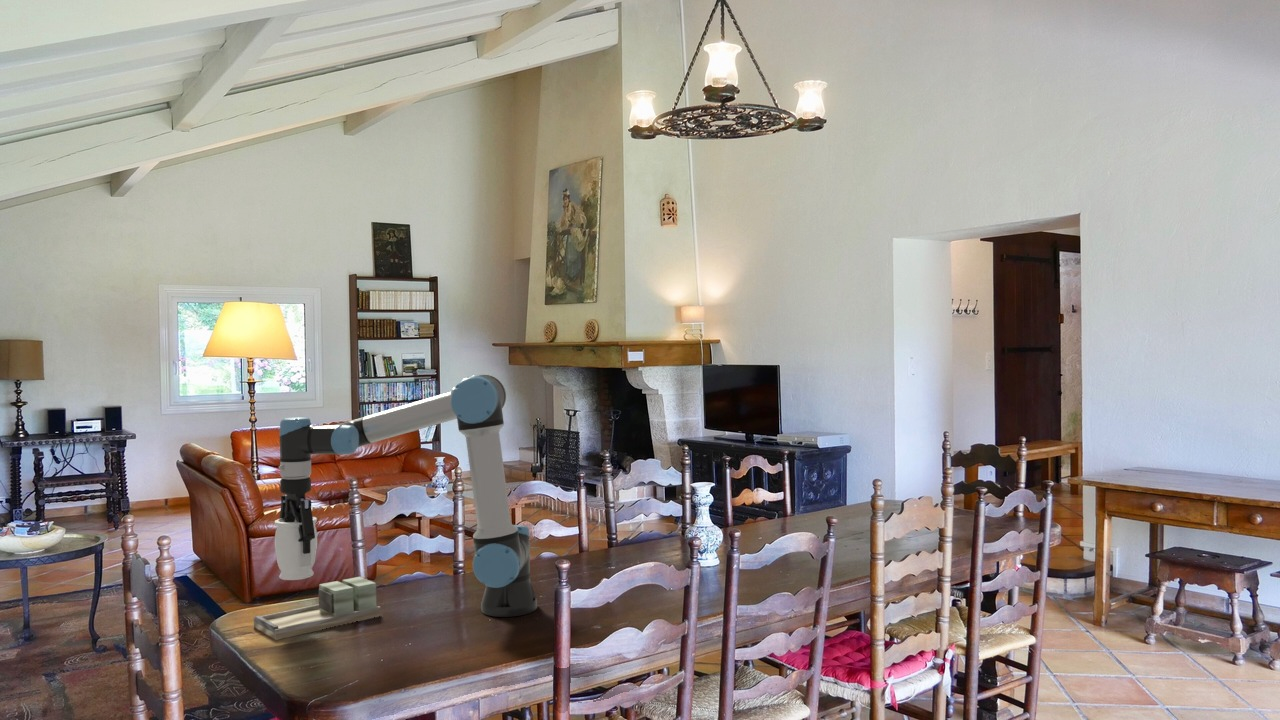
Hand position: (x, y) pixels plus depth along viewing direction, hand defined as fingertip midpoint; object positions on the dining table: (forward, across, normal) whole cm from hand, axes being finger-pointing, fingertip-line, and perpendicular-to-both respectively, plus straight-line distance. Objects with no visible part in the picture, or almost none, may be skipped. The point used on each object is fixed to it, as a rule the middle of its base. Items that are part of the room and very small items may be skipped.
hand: (296, 562), depth 237 cm
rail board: (+17, 0, +6) cm, 17 cm away
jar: (+4, 0, 0) cm, 4 cm away
